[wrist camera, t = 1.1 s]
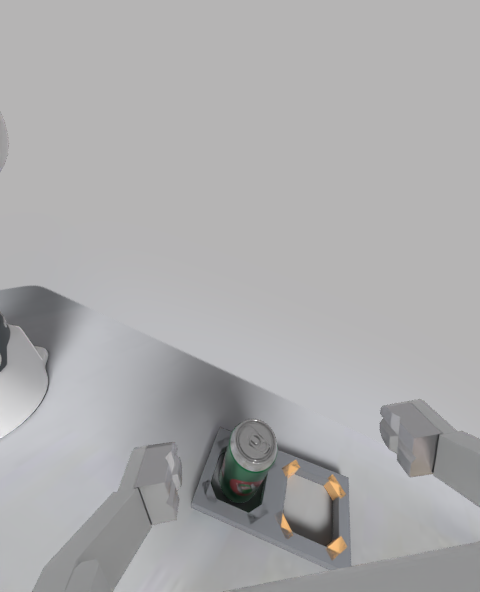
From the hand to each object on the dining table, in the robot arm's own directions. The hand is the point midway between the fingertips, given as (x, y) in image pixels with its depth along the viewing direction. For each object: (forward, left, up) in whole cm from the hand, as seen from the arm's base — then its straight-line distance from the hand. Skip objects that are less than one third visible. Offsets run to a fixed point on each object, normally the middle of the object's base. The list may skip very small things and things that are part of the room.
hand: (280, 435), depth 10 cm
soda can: (0, +7, -29) cm, 30 cm away
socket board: (+5, +7, -29) cm, 30 cm away
